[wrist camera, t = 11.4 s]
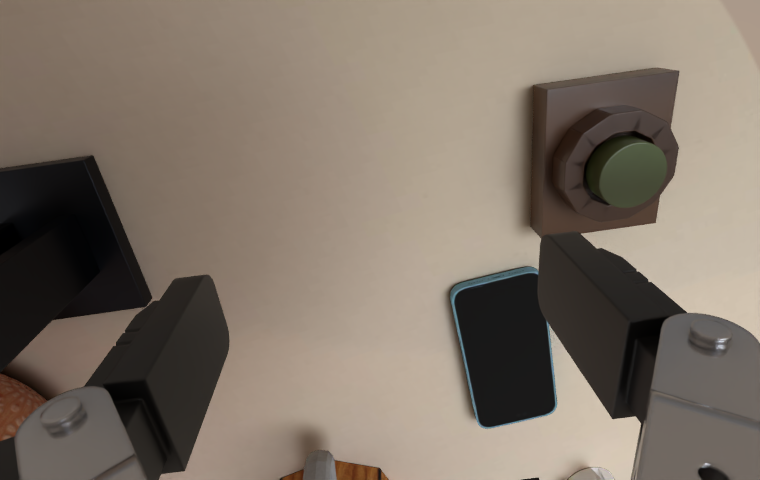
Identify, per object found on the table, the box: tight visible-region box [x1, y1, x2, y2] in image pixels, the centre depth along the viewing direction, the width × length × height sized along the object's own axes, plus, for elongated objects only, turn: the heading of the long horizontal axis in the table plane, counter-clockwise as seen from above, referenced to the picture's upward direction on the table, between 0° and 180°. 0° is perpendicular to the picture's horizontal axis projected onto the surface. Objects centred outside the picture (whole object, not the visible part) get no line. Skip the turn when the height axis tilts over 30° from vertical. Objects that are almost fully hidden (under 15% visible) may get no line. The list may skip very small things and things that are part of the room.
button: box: [586, 135, 667, 208], centre depth 27 cm, size 4×4×2 cm
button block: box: [530, 68, 679, 239], centre depth 29 cm, size 10×8×4 cm
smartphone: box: [450, 267, 557, 429], centre depth 37 cm, size 7×1×15 cm
